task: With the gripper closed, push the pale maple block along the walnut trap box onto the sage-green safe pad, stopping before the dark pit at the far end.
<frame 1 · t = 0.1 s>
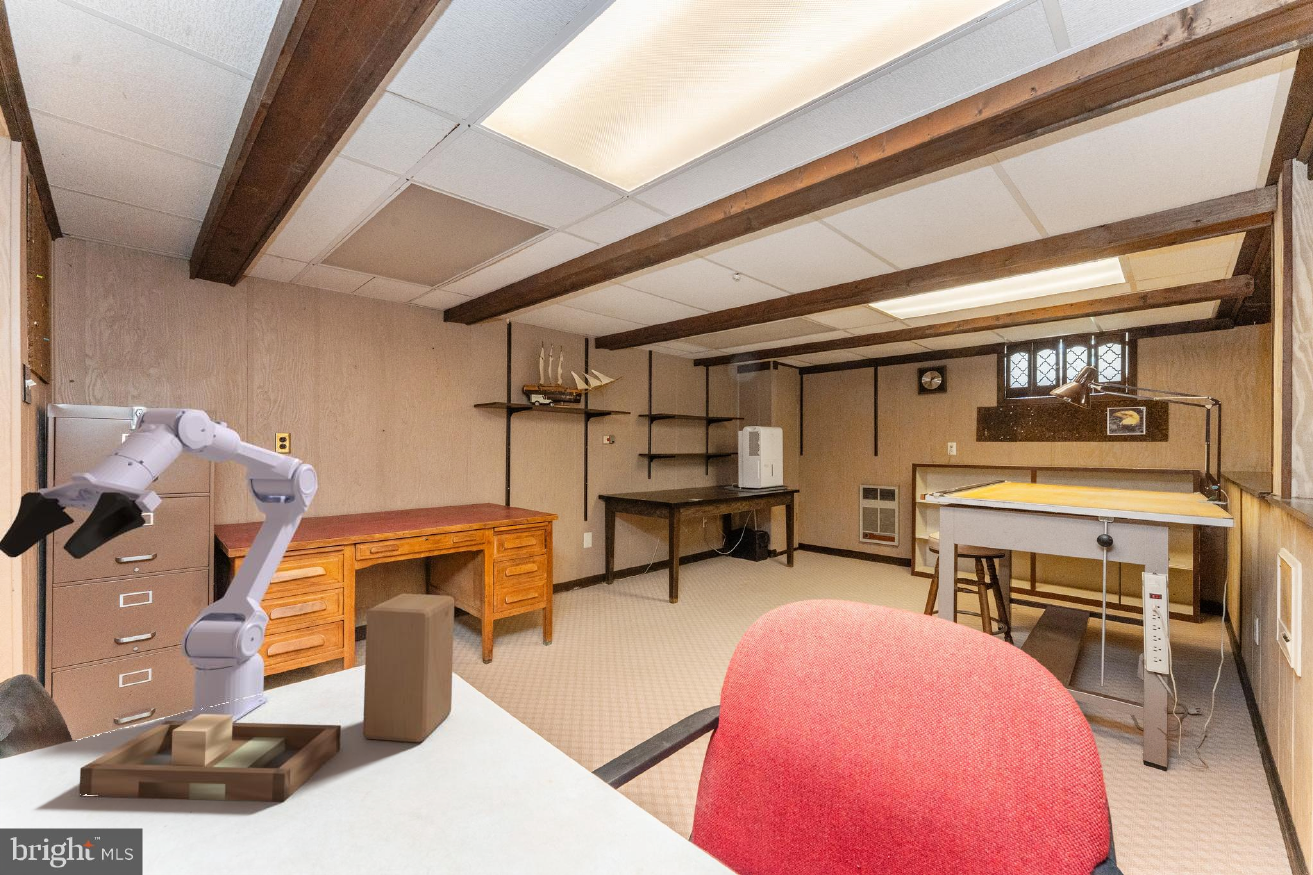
hand: (38, 552, 63), 32 cm above the table, tool tilted 50°, fingers open, 7 cm apart
maple block: (202, 755, 75), point 2 cm above the table, touching trap box
trap box: (219, 770, 75), on the table
wooden block: (409, 727, 88), on the table
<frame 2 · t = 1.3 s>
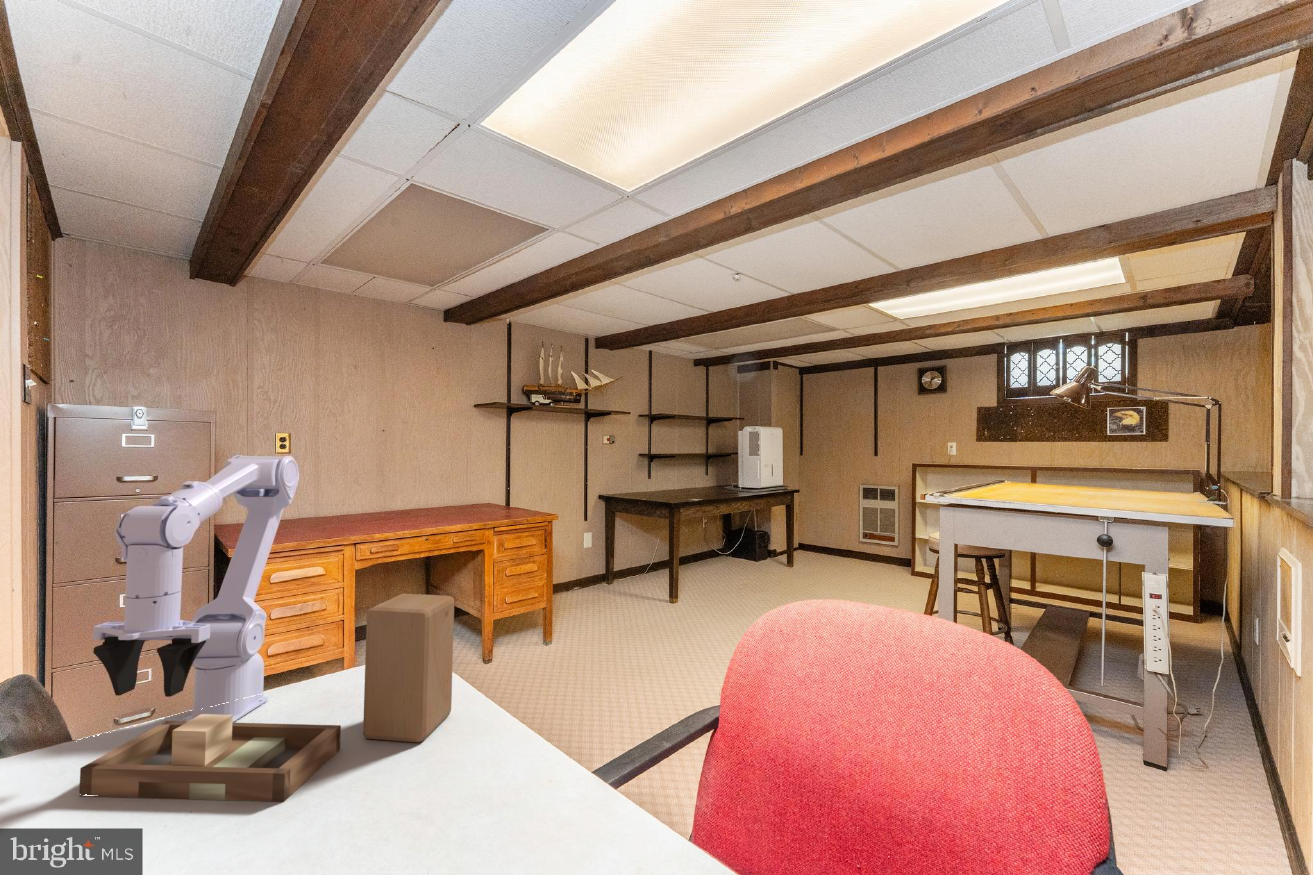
hand: (149, 692, 75), 10 cm above the table, tool pointing down, fingers open, 6 cm apart
nothing on the table moved.
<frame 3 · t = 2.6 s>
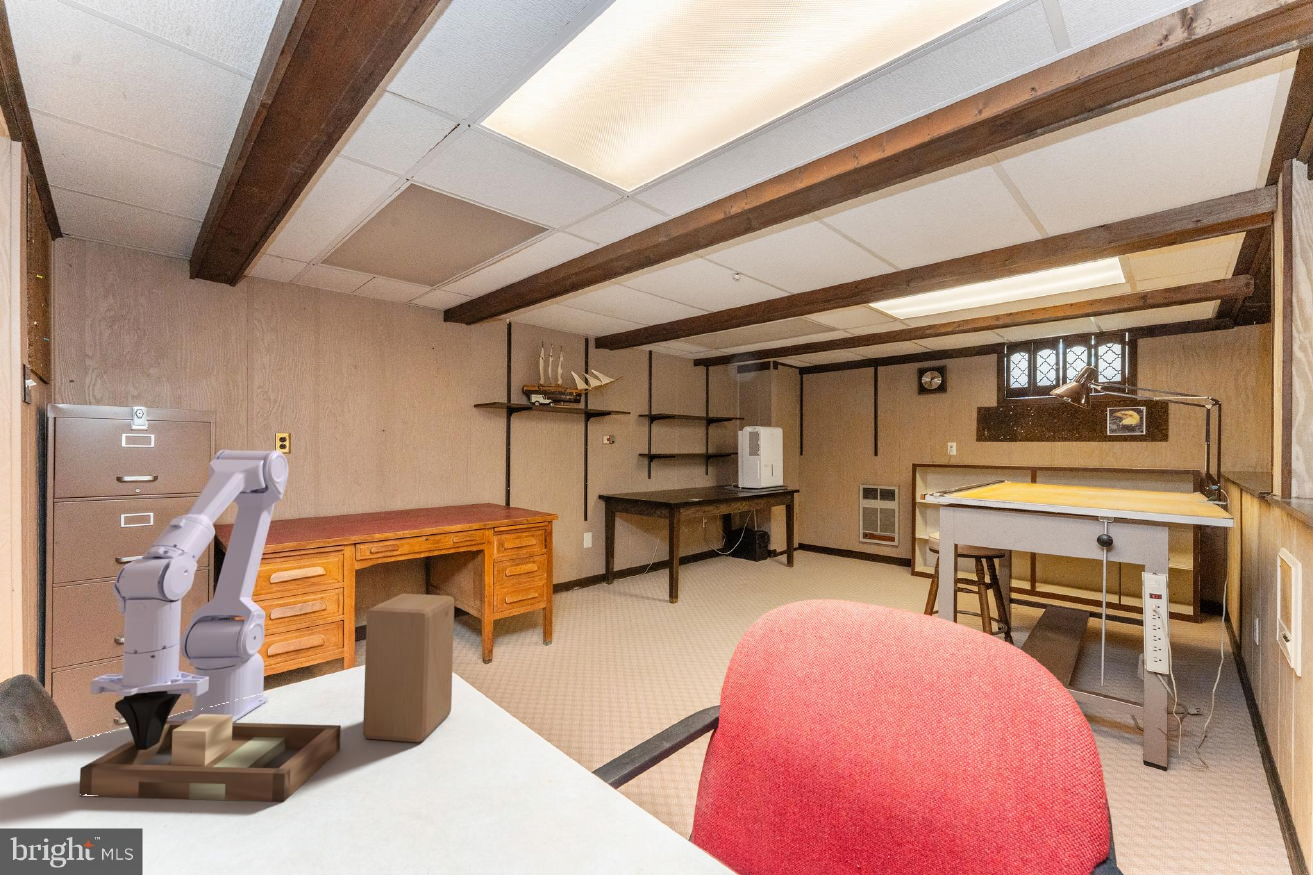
hand: (148, 745, 75), 3 cm above the table, tool pointing down, fingers closed
nothing on the table moved.
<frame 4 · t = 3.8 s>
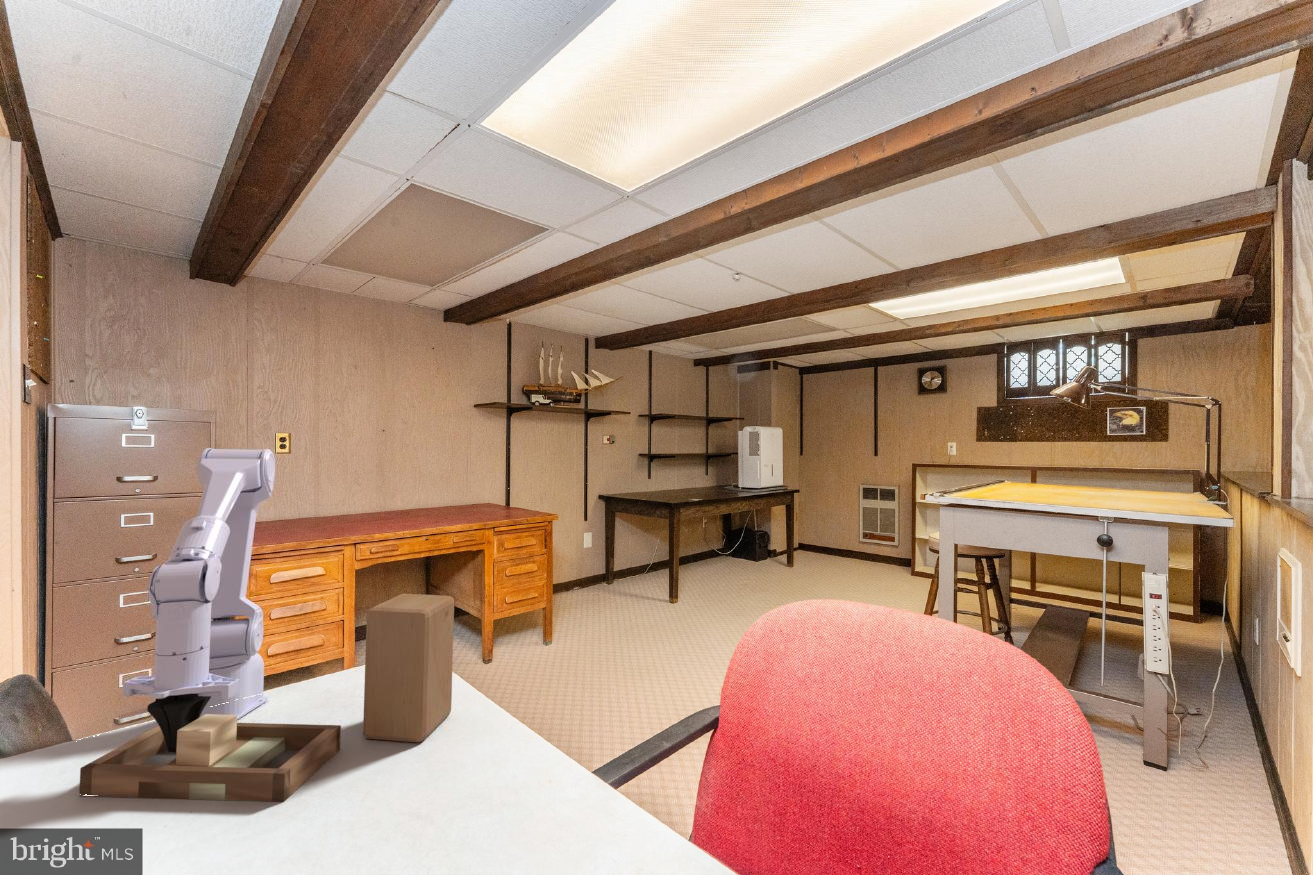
hand: (179, 748, 75), 3 cm above the table, tool pointing down, fingers closed
maple block: (206, 755, 75), point 2 cm above the table, touching gripper
everything else where it was.
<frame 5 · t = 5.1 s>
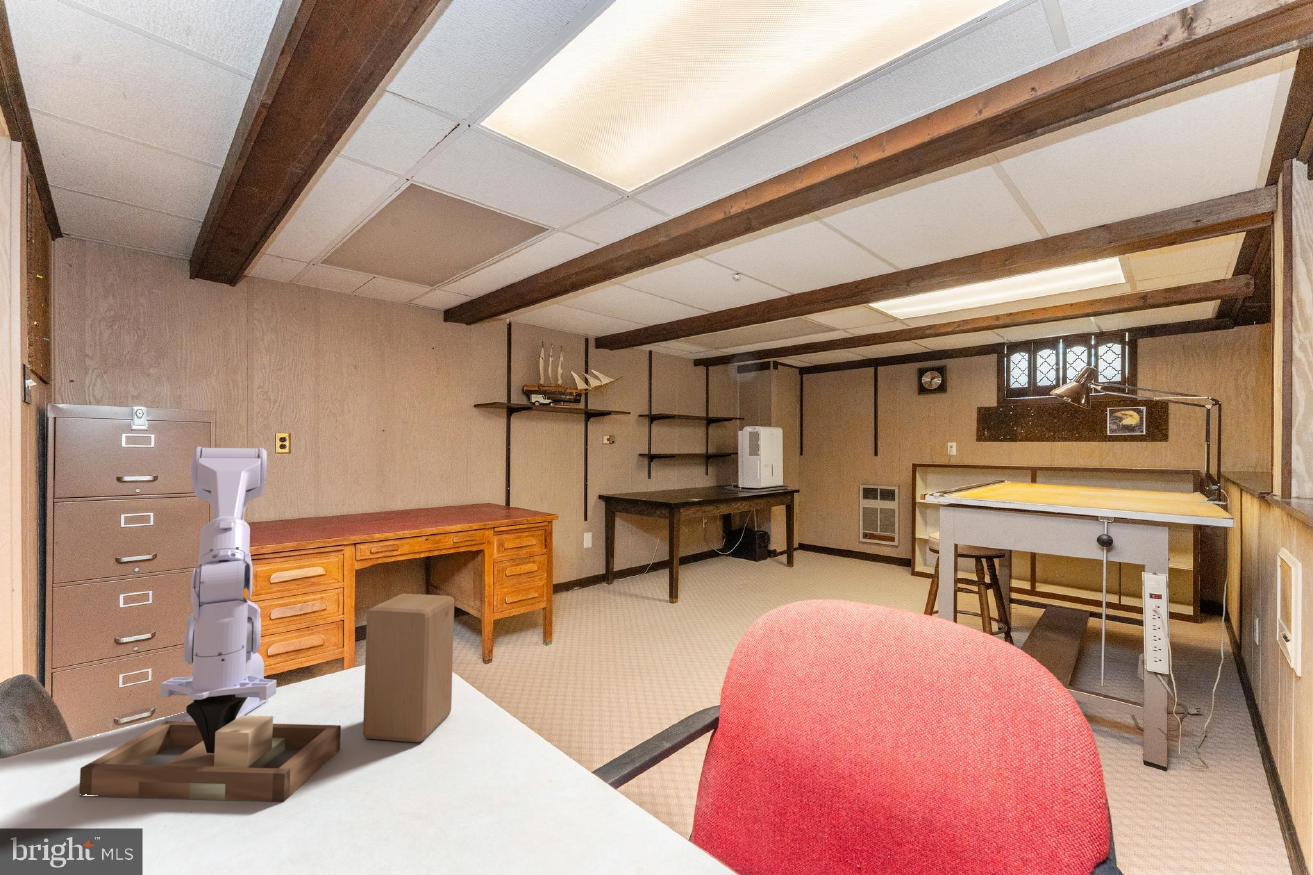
hand: (216, 749, 75), 3 cm above the table, tool pointing down, fingers closed
maple block: (243, 756, 75), point 2 cm above the table, touching gripper, trap box
everything else where it was.
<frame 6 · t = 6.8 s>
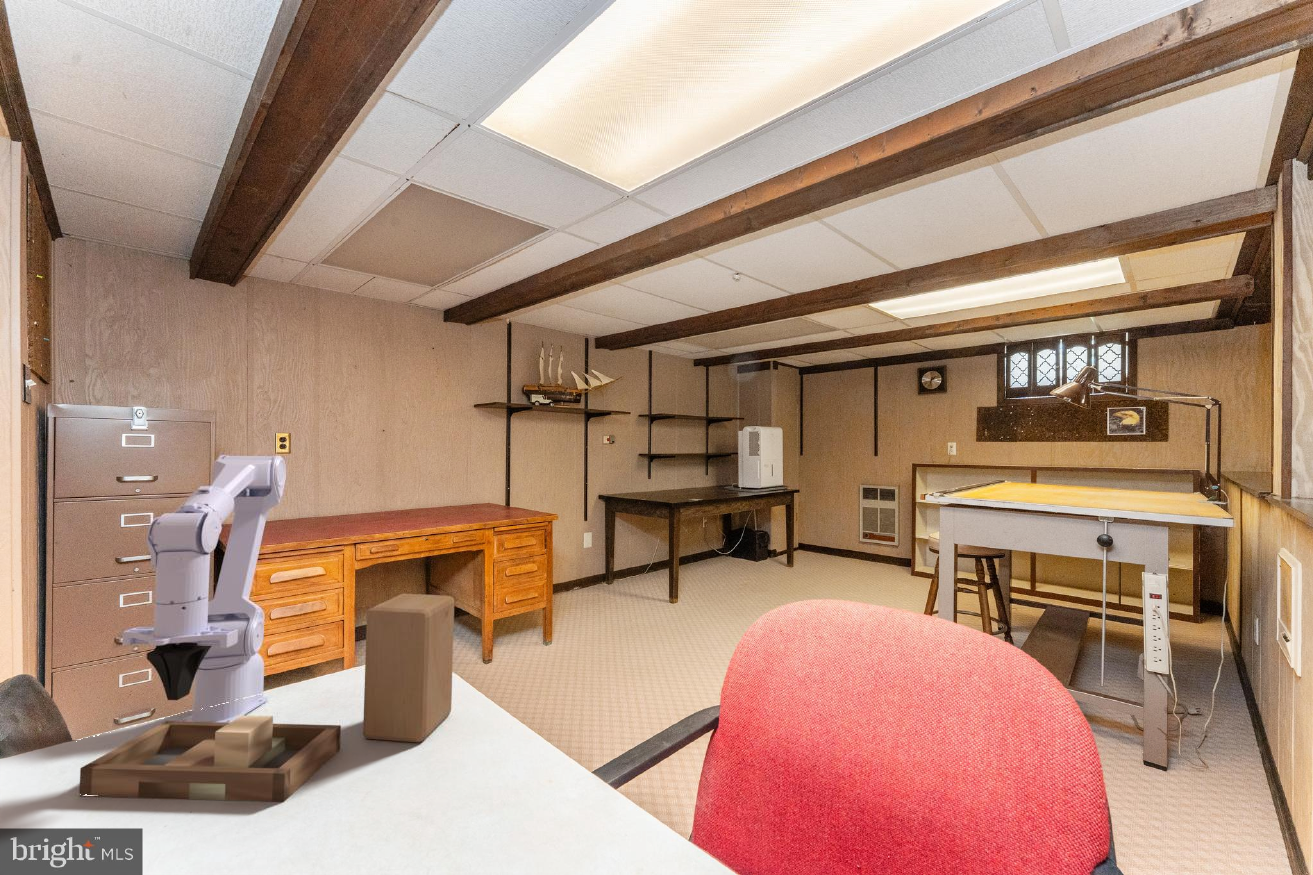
hand: (178, 697, 76), 9 cm above the table, tool pointing down, fingers closed
maple block: (243, 756, 75), point 2 cm above the table, touching trap box
everything else where it was.
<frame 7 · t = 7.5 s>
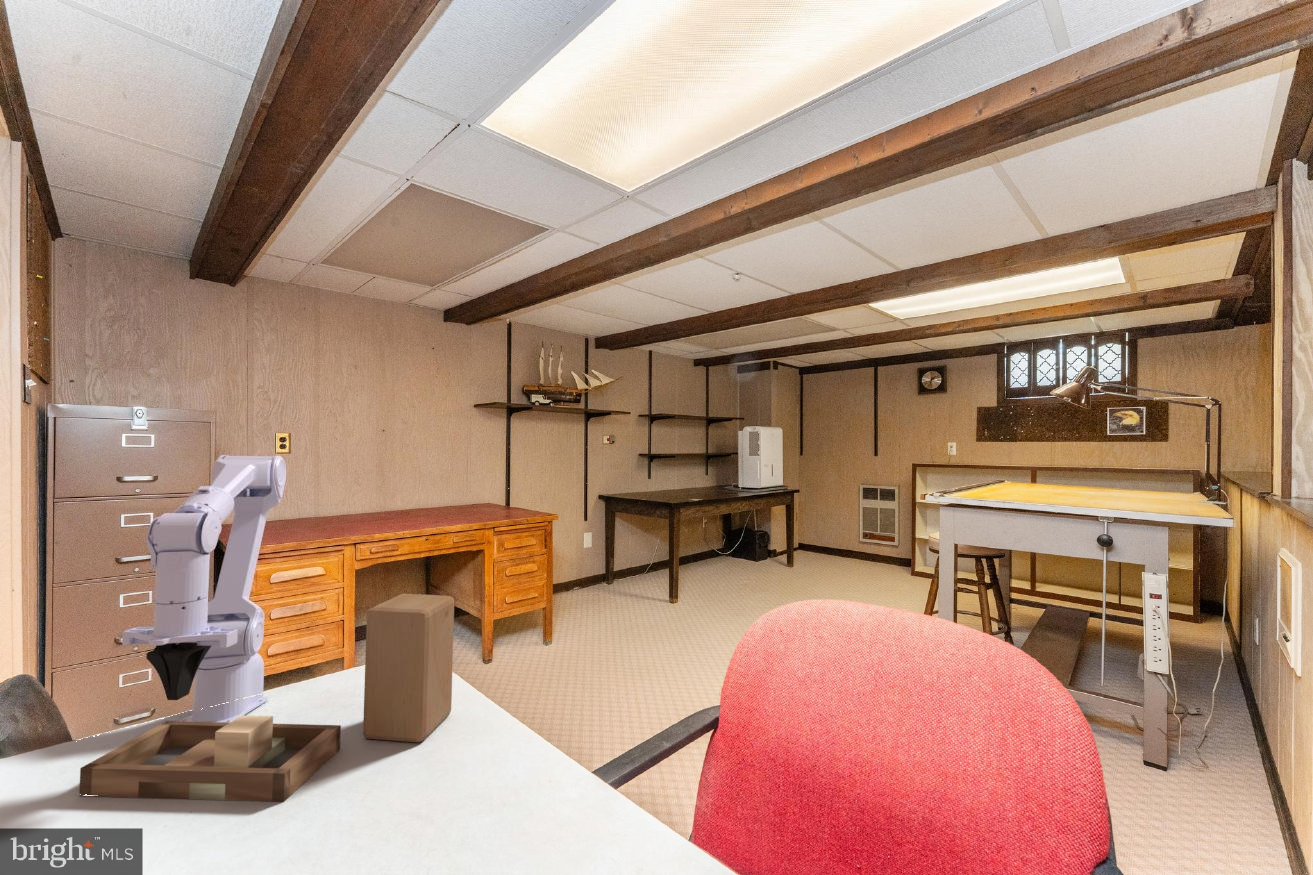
hand: (178, 696, 76), 9 cm above the table, tool pointing down, fingers closed
nothing on the table moved.
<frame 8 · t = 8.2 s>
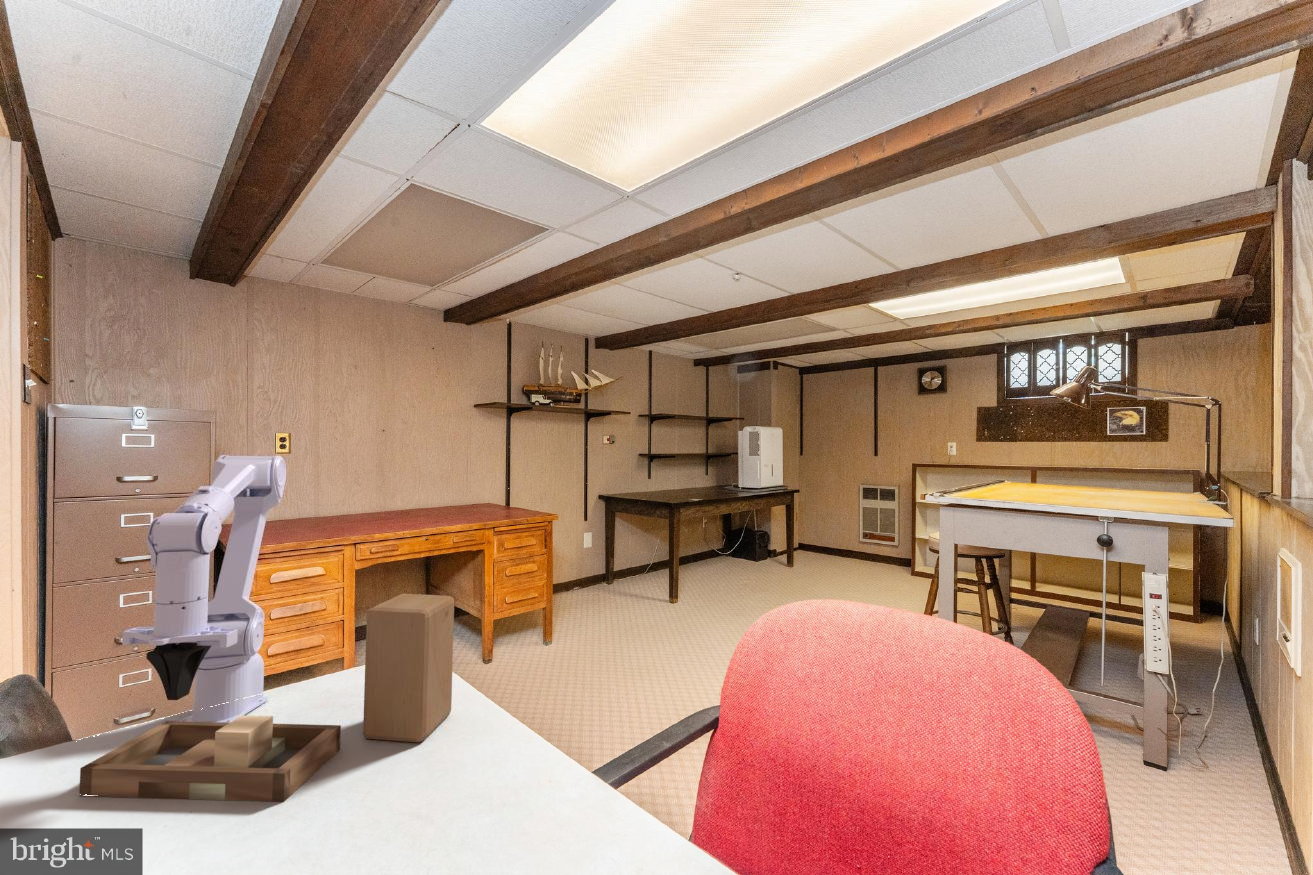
hand: (178, 696, 76), 9 cm above the table, tool pointing down, fingers closed
nothing on the table moved.
at the end: maple block 0.6 cm from the target spot on the trap box, point 2.0 cm above the trap box's base; maple block tilted 0°; maple block moved 5.8 cm from its start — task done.
